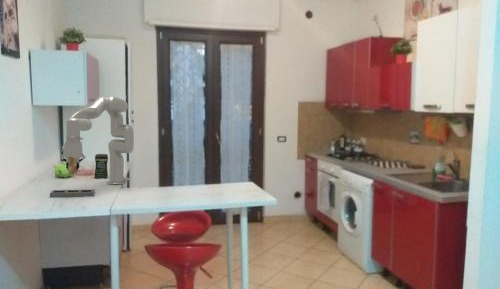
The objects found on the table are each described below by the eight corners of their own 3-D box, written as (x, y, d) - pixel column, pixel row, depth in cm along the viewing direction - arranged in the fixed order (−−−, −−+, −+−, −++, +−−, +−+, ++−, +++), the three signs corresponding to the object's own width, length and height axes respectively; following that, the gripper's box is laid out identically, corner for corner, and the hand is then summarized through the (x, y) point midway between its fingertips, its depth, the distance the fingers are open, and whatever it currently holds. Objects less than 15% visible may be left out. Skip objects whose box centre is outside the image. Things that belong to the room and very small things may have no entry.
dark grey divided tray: (94, 193, 251) (94, 189, 250) (93, 196, 242) (93, 192, 242) (52, 194, 244) (52, 190, 244) (49, 197, 235) (49, 193, 235)
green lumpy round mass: (71, 175, 316) (72, 161, 315) (77, 178, 305) (78, 163, 304) (51, 176, 306) (51, 162, 305) (56, 179, 295) (56, 164, 294)
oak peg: (77, 172, 244) (77, 156, 244) (76, 173, 240) (76, 157, 239) (69, 172, 243) (69, 156, 242) (68, 173, 239) (68, 156, 238)
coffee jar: (93, 178, 303) (93, 154, 302) (95, 177, 311) (95, 153, 310) (107, 178, 305) (107, 154, 304) (108, 177, 313) (108, 153, 312)
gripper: (88, 139, 246) (88, 168, 247) (58, 138, 241) (58, 168, 243) (87, 140, 239) (87, 170, 240) (56, 139, 234) (56, 170, 235)
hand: (72, 169), depth 241 cm, fingers closed on oak peg, 4 cm apart
